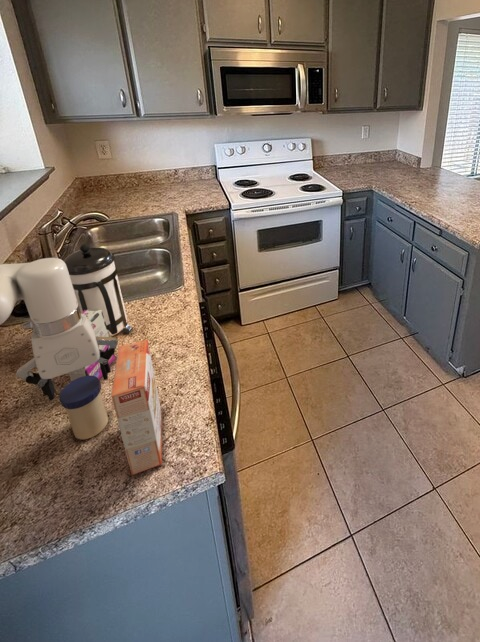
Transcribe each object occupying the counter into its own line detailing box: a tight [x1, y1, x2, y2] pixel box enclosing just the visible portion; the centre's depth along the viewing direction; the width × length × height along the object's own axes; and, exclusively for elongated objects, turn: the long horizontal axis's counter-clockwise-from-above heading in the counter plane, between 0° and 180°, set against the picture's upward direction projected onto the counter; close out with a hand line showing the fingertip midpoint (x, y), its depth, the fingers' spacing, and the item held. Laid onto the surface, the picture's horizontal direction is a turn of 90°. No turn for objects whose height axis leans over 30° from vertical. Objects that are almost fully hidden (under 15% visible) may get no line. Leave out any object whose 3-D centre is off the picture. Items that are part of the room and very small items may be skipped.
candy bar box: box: [67, 310, 117, 382], centre depth 91 cm, size 11×5×16 cm, turn 0°
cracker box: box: [110, 339, 163, 476], centre depth 73 cm, size 14×6×21 cm, turn 23°
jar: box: [64, 390, 109, 440], centre depth 78 cm, size 7×7×11 cm
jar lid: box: [59, 376, 102, 409], centre depth 77 cm, size 7×7×2 cm
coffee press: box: [63, 243, 133, 337], centre depth 104 cm, size 17×16×30 cm
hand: (80, 385), depth 76 cm, fingers open, 9 cm apart
